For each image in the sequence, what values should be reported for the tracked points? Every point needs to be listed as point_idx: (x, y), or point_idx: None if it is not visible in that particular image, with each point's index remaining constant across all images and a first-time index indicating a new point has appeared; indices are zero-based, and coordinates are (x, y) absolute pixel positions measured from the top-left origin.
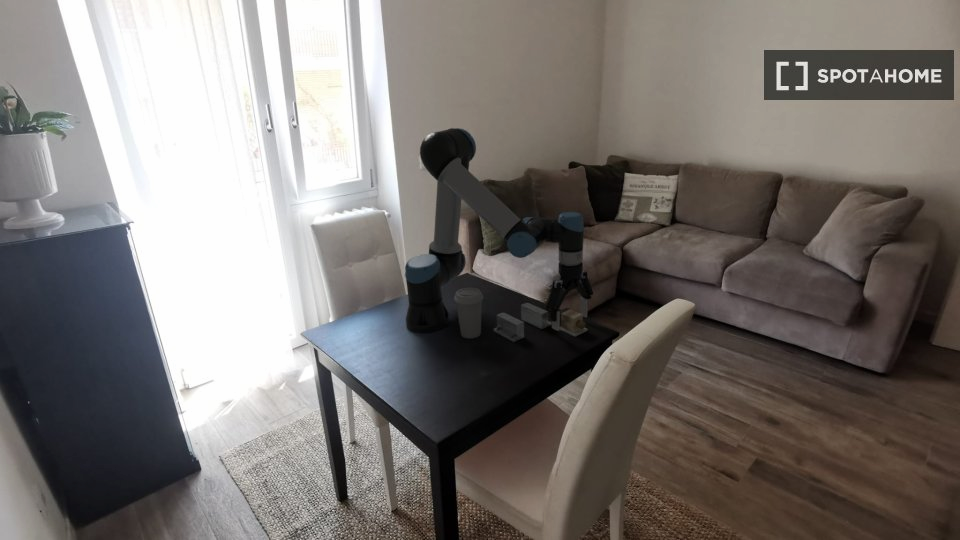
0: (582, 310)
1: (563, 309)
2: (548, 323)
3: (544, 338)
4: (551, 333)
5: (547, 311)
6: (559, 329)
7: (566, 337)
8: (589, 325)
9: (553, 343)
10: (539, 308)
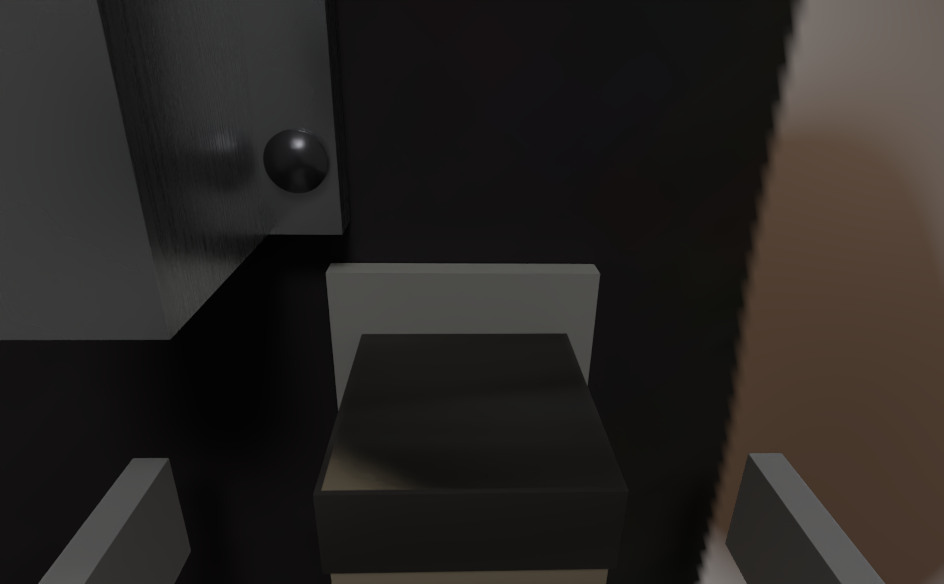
0: (786, 578)
1: (496, 510)
2: (277, 233)
3: (30, 410)
4: (188, 383)
5: (157, 330)
6: (186, 558)
7: (274, 538)
8: (678, 525)
9: (63, 536)
10: (71, 38)
